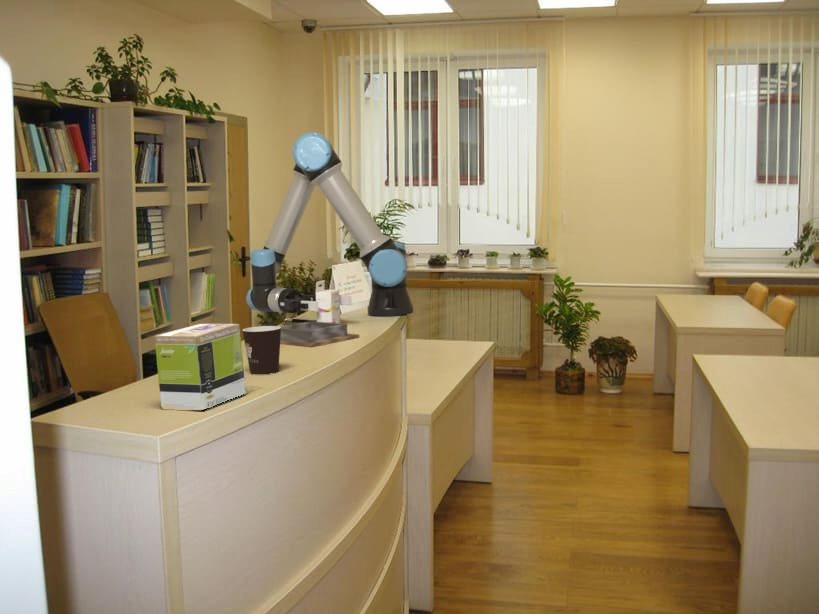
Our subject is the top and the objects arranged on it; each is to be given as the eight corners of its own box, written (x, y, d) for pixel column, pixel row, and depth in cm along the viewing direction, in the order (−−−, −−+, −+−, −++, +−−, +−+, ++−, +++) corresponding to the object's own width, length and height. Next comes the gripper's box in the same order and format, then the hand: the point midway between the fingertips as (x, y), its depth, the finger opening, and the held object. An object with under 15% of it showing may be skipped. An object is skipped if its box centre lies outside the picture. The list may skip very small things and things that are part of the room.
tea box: (205, 393, 191) (200, 322, 189) (247, 395, 187) (242, 322, 185) (159, 410, 177) (153, 333, 175) (203, 412, 173) (197, 334, 171)
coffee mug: (284, 374, 208) (281, 330, 207) (245, 377, 207) (242, 332, 205) (282, 365, 219) (280, 323, 218) (245, 368, 218) (242, 325, 217)
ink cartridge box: (333, 332, 271) (330, 281, 269) (317, 332, 272) (314, 282, 270) (341, 327, 279) (339, 278, 277) (325, 328, 280) (323, 279, 278)
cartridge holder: (309, 332, 271) (309, 320, 270) (359, 337, 258) (358, 323, 257) (262, 341, 257) (261, 328, 257) (312, 347, 244) (311, 332, 244)
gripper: (316, 307, 296) (364, 311, 282) (255, 317, 278) (303, 321, 264) (314, 284, 295) (363, 286, 282) (253, 292, 277) (302, 295, 263)
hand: (334, 303), depth 273 cm, fingers open, 13 cm apart
